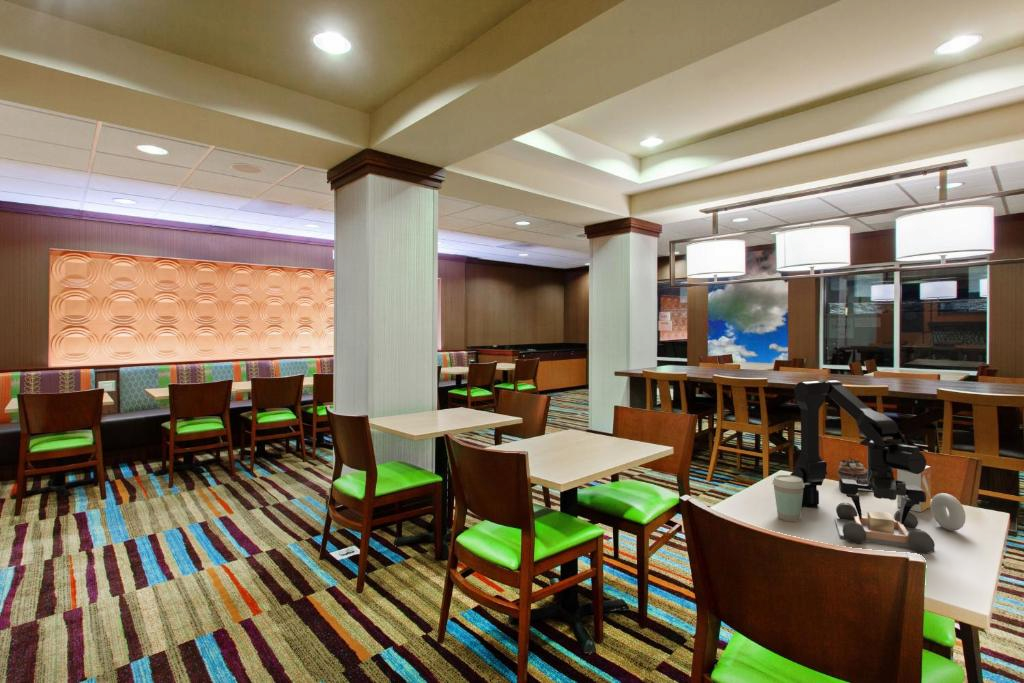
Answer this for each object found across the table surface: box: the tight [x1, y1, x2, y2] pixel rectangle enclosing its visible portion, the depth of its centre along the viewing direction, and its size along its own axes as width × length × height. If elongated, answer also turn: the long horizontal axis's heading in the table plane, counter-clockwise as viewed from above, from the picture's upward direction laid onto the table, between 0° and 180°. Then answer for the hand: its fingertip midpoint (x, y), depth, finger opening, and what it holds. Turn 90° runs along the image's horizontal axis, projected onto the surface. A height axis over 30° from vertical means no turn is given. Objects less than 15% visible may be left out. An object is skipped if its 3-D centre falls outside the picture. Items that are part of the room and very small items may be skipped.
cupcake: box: [837, 458, 868, 493], centre depth 178 cm, size 10×10×10 cm
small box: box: [896, 465, 932, 513], centre depth 159 cm, size 8×6×13 cm
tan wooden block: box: [866, 510, 895, 534], centre depth 138 cm, size 5×6×4 cm
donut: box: [930, 492, 967, 532], centre depth 141 cm, size 10×3×10 cm, turn 176°
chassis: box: [834, 502, 936, 554], centre depth 138 cm, size 20×19×5 cm
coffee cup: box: [772, 474, 805, 522], centre depth 152 cm, size 8×8×12 cm
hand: (880, 521), depth 138 cm, fingers open, 9 cm apart
